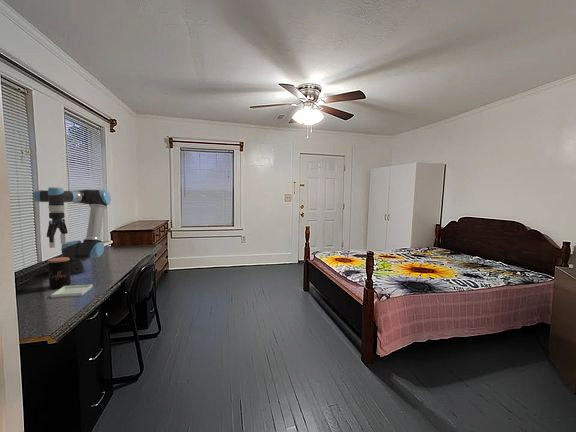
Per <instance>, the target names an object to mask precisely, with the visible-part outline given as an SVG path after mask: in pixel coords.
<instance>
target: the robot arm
mask: <svg viewBox="0 0 576 432" xmlns="http://www.w3.org/2000/svg"><path fill="white" fill-rule="evenodd" d="M32 199H33V200H34V201H35V202H37V203H48V207H47V208H48V212H49V213H48V218H49V219H51V220H49V221H48V228H47V233H46V237H47V238H48V242H49V245H48V246H49V248H50V249H51V248H52V249H54V248H56V236H55V235H56V232H57V229H58V230H59V232H60V244H61V249H60V250H61V257H68V258H70V260H69V262H70V275H73V274H78V273H82V272H84V271H85V269H86V267H85V265H84V263H83V260H82V259H95V258H100V257H101V256H102V255H103V254H104V251H105V245H104V243H103V242H102V239H101V231H102V226H103V219H104V218H103V217H104V211H105V209H106V208H107V205H110V204H111V200H112V198H111V195H110V193H109V191H108V190H105V189H79V190H78V189H77V190H64V188H63V187H53V186H52V187H51V186H50V187H48V189H47V190H46V189H45V190H44V189H43V190H41V189H40V190H39V189H38V190H35V191H34V192H33V193H32ZM65 203H73V204H82V205H88V206H89V207H90V212H89V218H88V225H87V229H86V230H87V232H86V237H85V238H84V239H83V241H82V240H78V239H77V240H72V241H67V234H68V233H69V232H68V228H67V225H66V224H67V223H66V221H65V218H66V216H65Z"/></svg>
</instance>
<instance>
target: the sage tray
mask: <svg viewBox="0 0 576 432" xmlns="http://www.w3.org/2000/svg"><path fill="white" fill-rule="evenodd" d="M93 285H94V284H77V285H76V284H75V285H73V284H72V285H70V286H63V287H62V288H60V289H56V291H54V292H53V293H51V294H50V299H52V298H54V299H55V298H69V297H82V296H83V295H85V294H86V293H88V292H89V291H90V290H91V289H93V287H94V286H93Z"/></svg>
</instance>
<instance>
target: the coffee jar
mask: <svg viewBox="0 0 576 432" xmlns="http://www.w3.org/2000/svg"><path fill="white" fill-rule="evenodd" d="M69 260H70V258H68V257H62V256H61V257H54V258H50V259H48V260H47V262H48V265H47V266H48V267H47V268H48V284H49V288H50V289H51V290H59V289H60V288H62V287H63V286H71V284H72V282H71V281H72V280H71V274H70V262H69Z"/></svg>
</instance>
